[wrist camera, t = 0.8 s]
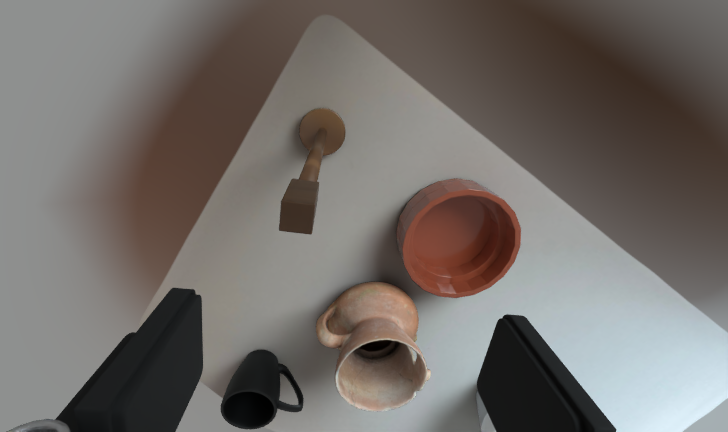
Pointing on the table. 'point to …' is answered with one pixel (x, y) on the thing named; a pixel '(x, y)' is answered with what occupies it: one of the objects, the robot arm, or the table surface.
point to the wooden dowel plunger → (310, 169)
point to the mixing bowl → (457, 238)
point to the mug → (257, 392)
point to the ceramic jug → (374, 346)
